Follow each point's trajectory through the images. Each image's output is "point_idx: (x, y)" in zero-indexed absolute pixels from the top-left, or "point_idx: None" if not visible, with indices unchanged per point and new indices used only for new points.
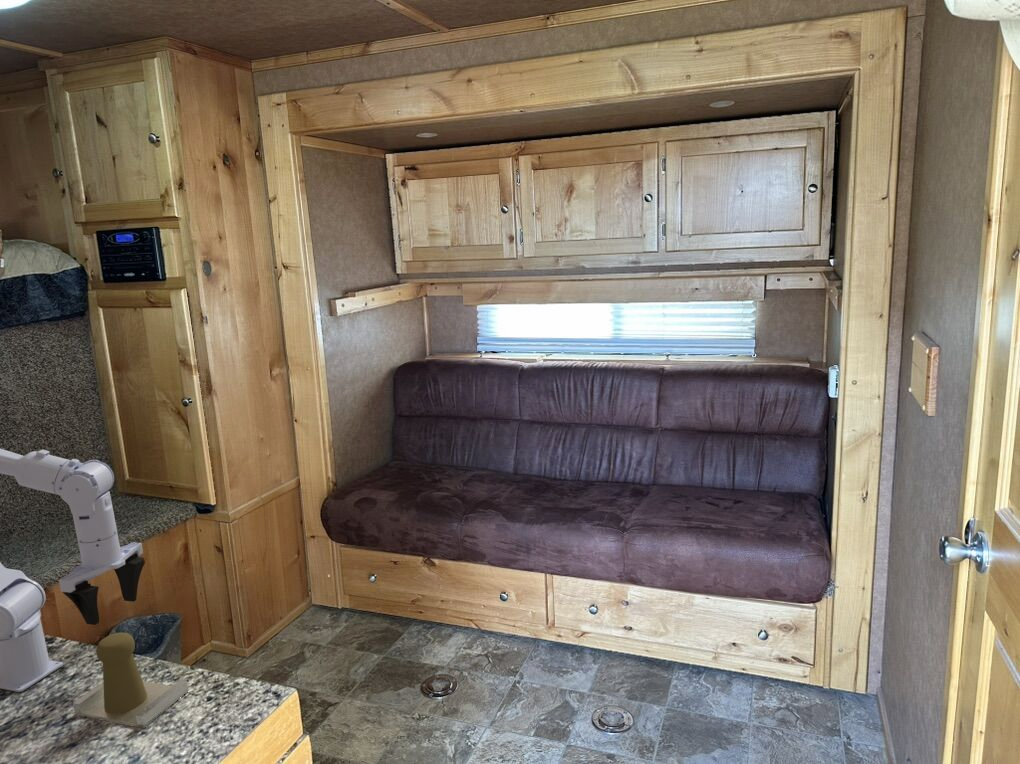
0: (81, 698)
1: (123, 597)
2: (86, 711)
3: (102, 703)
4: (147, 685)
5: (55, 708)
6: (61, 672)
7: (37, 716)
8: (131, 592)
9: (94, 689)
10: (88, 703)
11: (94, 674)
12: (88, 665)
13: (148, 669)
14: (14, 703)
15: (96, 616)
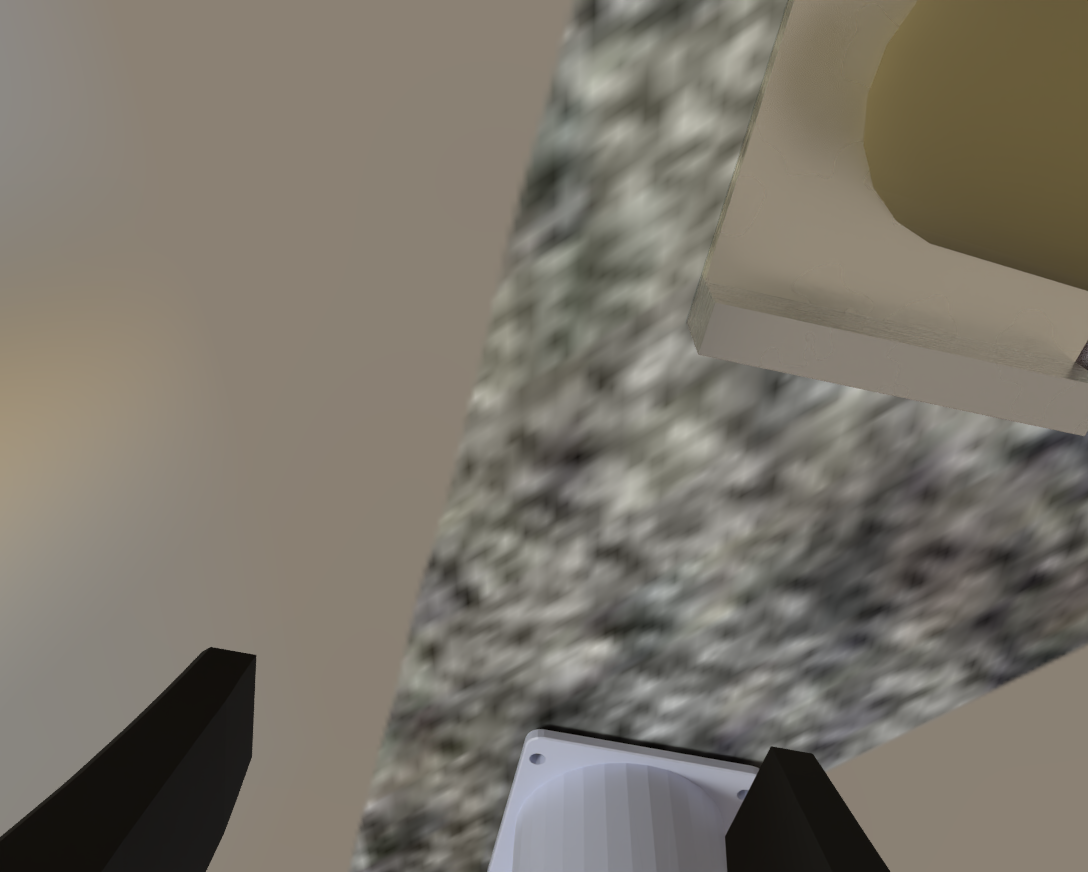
0: (1040, 412)
1: (236, 797)
2: (1070, 332)
3: (995, 279)
4: (822, 51)
5: (935, 543)
6: (589, 700)
7: (992, 587)
8: (195, 771)
9: (944, 389)
10: (1024, 358)
11: (612, 534)
12: (522, 615)
13: (558, 213)
14: (844, 743)
15: (848, 835)
